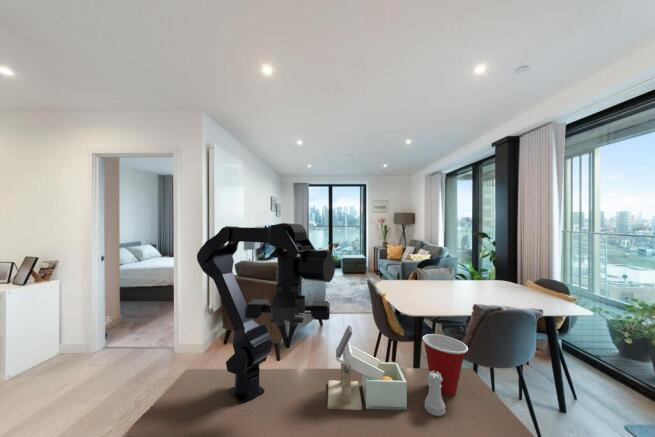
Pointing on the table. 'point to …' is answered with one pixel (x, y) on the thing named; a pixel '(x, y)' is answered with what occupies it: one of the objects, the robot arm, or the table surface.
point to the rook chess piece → (435, 395)
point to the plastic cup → (445, 359)
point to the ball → (386, 378)
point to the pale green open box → (386, 389)
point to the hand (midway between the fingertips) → (287, 347)
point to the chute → (357, 358)
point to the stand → (344, 392)
